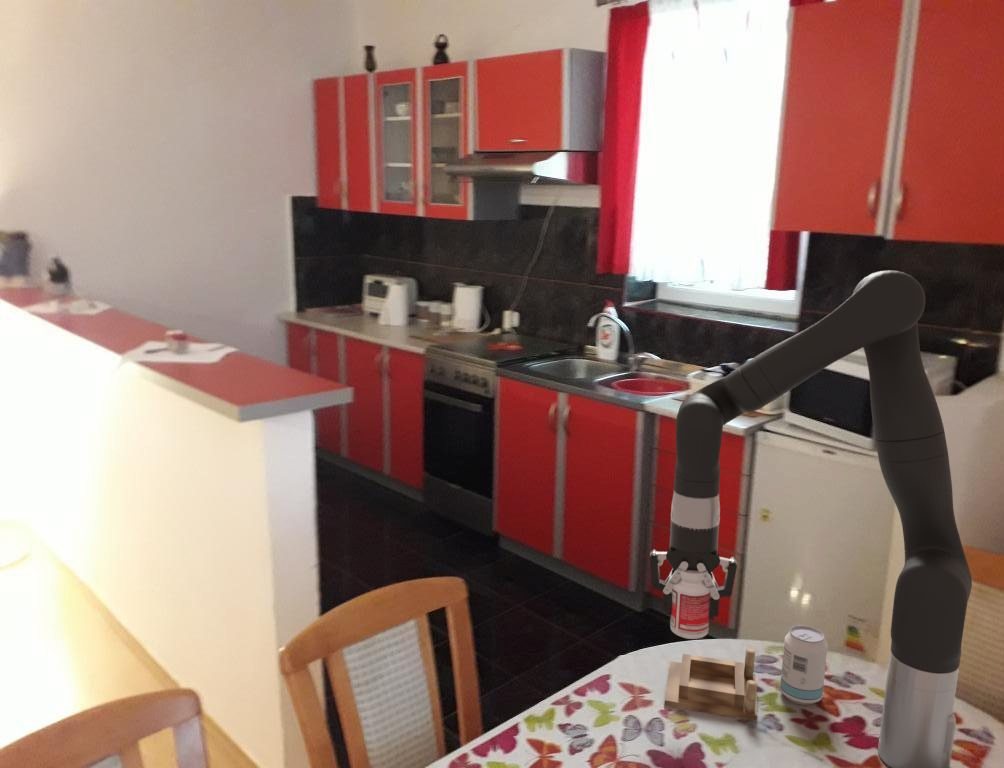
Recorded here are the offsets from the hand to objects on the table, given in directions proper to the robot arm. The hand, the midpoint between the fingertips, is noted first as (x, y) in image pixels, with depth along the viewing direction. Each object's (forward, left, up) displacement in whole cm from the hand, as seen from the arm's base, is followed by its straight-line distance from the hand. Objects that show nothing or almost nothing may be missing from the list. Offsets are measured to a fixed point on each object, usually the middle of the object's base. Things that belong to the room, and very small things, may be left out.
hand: (689, 615), depth 135 cm
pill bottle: (0, 0, -3) cm, 3 cm away
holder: (-4, -7, -17) cm, 19 cm away
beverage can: (-19, -10, -17) cm, 28 cm away
